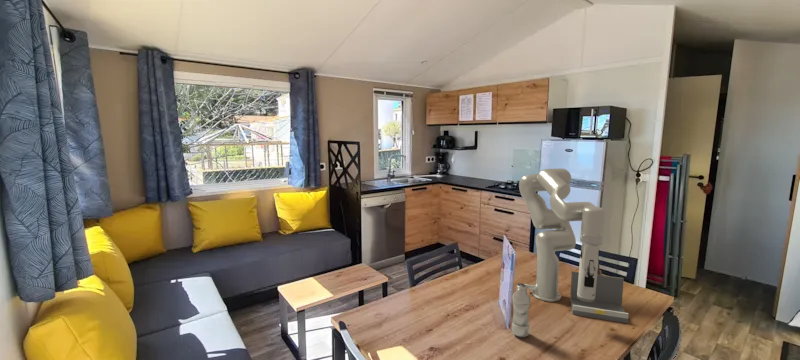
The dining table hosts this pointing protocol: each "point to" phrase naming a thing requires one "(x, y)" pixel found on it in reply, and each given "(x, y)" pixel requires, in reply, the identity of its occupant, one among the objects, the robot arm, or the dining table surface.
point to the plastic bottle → (521, 311)
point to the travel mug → (582, 291)
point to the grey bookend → (600, 299)
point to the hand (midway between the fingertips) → (587, 282)
